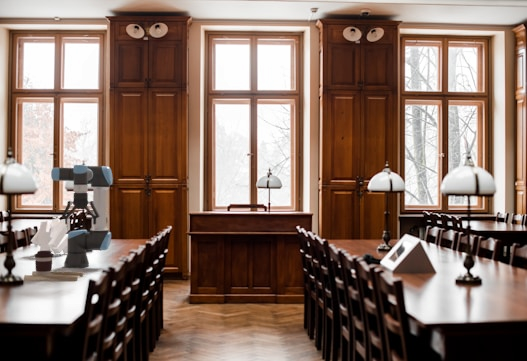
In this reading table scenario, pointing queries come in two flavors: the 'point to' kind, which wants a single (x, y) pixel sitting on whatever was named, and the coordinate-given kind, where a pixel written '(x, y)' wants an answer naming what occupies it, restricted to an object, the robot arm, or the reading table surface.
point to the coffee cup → (43, 262)
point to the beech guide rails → (54, 276)
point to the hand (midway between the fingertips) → (80, 230)
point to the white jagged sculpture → (52, 236)
